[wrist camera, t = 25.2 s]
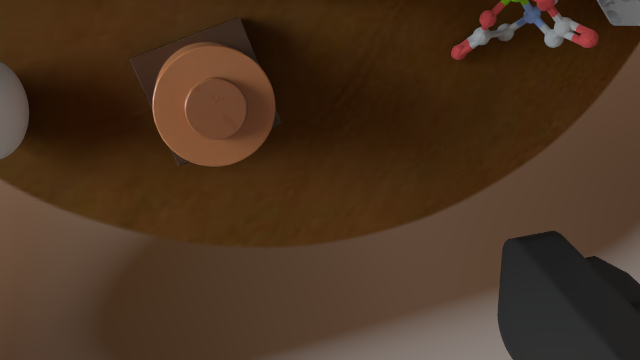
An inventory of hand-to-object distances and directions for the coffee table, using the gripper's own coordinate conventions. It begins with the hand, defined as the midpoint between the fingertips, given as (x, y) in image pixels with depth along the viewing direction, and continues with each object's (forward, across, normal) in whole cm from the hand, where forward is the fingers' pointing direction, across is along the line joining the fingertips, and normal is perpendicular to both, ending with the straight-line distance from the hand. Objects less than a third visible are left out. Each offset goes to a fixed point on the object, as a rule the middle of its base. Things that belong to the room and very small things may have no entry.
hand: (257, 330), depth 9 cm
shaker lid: (+26, +1, +6) cm, 27 cm away
